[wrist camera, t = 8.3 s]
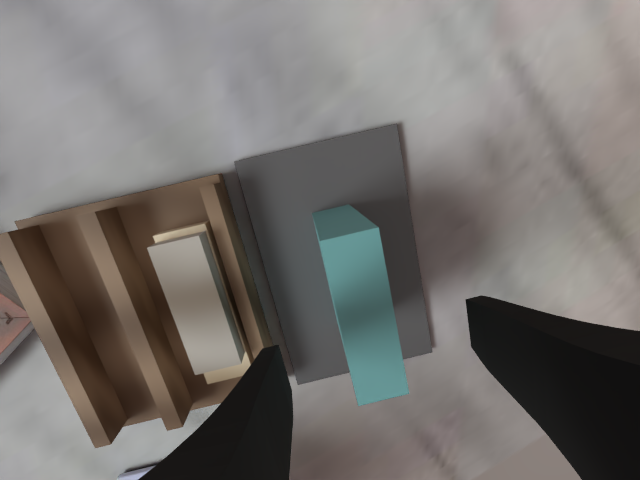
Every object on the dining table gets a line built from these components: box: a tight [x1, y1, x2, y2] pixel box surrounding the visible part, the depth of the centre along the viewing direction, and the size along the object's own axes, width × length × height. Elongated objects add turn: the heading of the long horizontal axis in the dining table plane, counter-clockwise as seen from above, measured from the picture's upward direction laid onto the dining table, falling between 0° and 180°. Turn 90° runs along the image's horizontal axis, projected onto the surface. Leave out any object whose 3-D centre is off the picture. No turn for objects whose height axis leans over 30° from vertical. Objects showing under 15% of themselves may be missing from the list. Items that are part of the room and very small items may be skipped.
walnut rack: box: [0, 174, 273, 448], centre depth 19 cm, size 15×12×3 cm
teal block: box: [312, 204, 409, 406], centre depth 17 cm, size 8×2×8 cm, turn 13°
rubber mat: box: [234, 124, 432, 385], centre depth 21 cm, size 16×10×1 cm, turn 13°
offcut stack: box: [147, 220, 254, 384], centre depth 19 cm, size 10×3×2 cm, turn 13°
